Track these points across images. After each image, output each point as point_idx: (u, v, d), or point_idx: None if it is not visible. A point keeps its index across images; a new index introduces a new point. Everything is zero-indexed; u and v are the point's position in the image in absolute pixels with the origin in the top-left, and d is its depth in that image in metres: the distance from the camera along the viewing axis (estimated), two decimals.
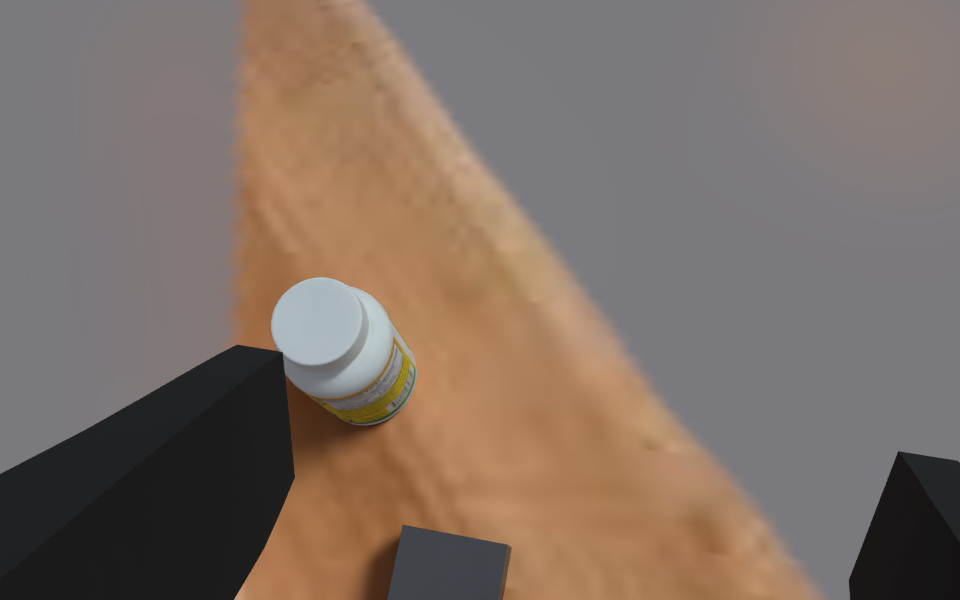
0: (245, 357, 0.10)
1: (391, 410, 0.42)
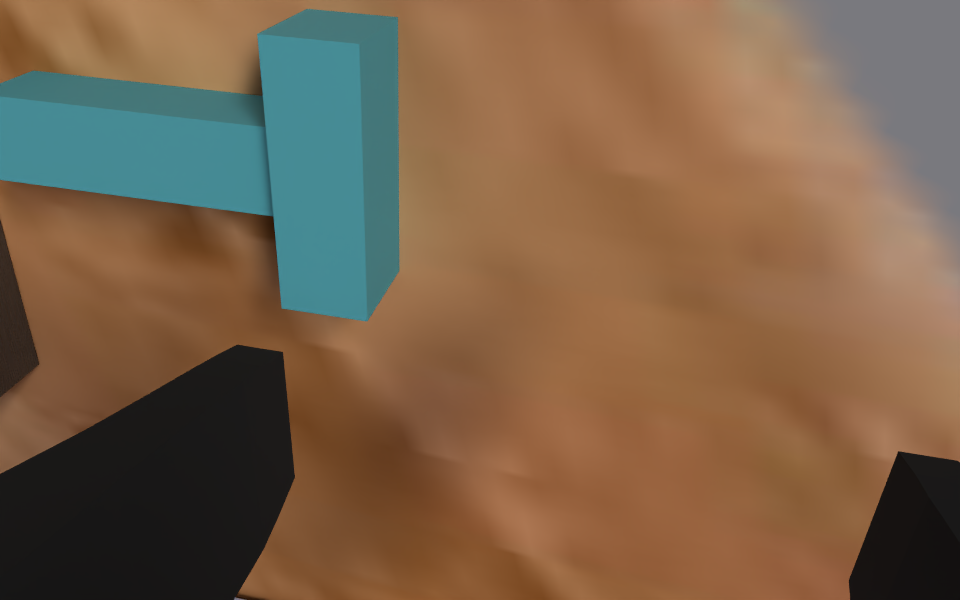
0: (245, 358, 0.10)
1: None
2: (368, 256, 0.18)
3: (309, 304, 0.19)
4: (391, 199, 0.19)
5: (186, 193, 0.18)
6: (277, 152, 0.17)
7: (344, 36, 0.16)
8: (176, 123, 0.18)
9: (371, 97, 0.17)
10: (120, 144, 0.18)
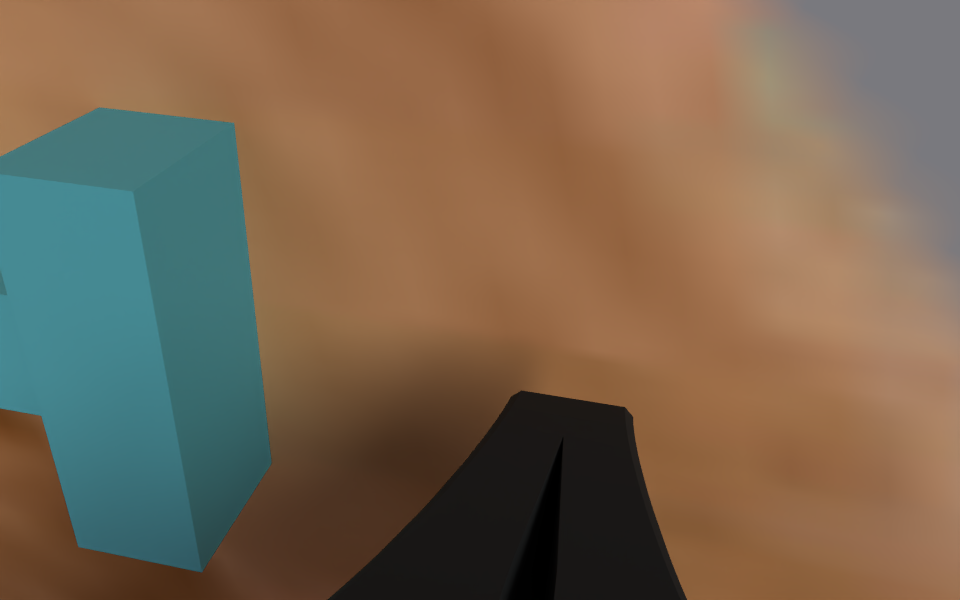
0: (543, 406, 0.09)
1: None
2: (195, 484, 0.12)
3: (116, 545, 0.12)
4: (243, 382, 0.13)
5: None
6: (35, 343, 0.11)
7: (117, 173, 0.10)
8: None
9: (175, 261, 0.10)
10: None
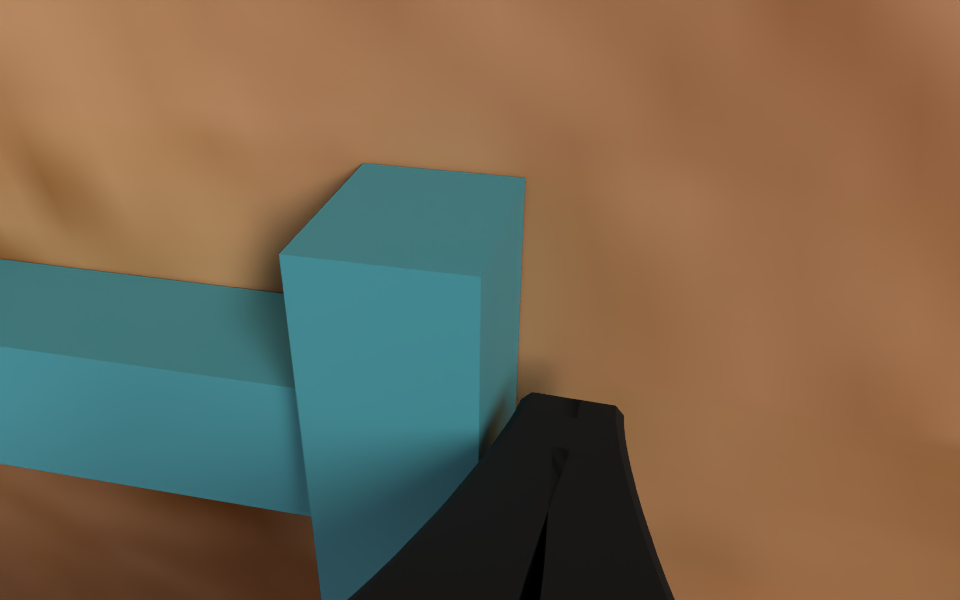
0: (555, 408, 0.09)
1: None
2: None
3: None
4: None
5: (163, 476, 0.11)
6: (319, 442, 0.09)
7: (446, 251, 0.08)
8: (140, 375, 0.10)
9: (491, 348, 0.09)
10: (48, 401, 0.11)
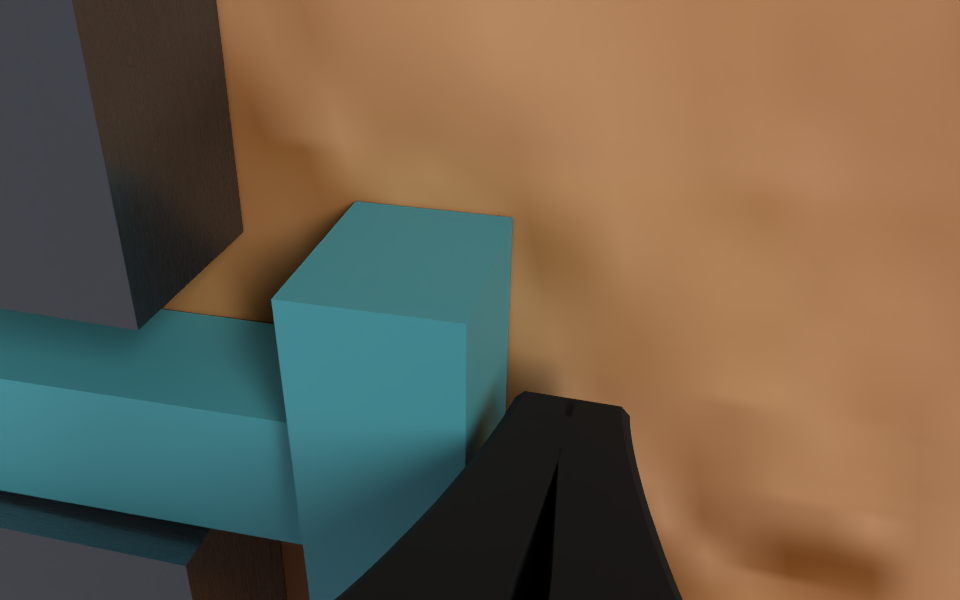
0: (547, 407, 0.09)
1: None
2: None
3: None
4: None
5: (159, 504, 0.11)
6: (311, 477, 0.10)
7: (433, 297, 0.08)
8: (136, 408, 0.10)
9: (478, 387, 0.09)
10: (48, 431, 0.11)
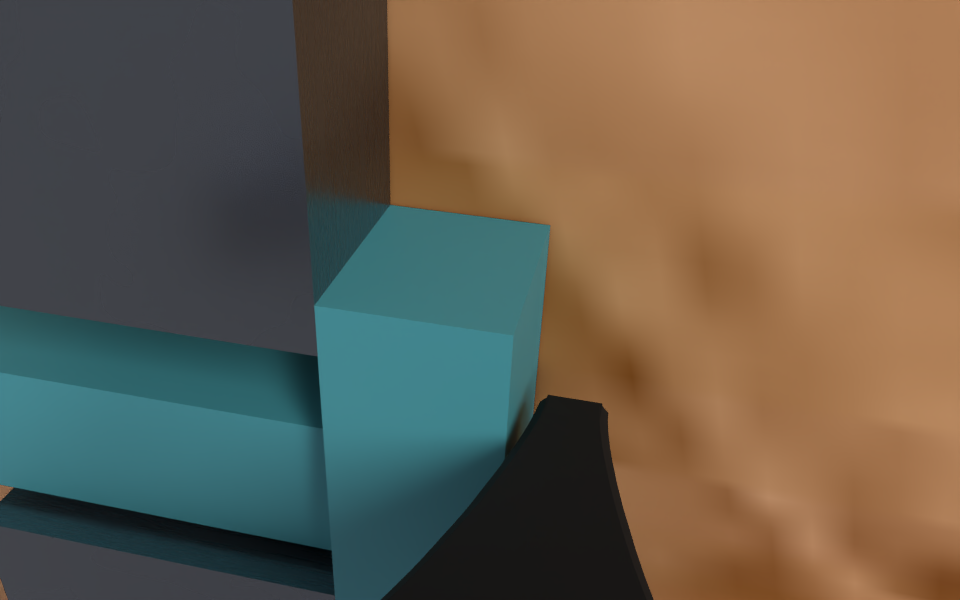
0: (574, 412, 0.09)
1: None
2: None
3: None
4: None
5: (183, 506, 0.11)
6: (344, 484, 0.09)
7: (477, 307, 0.08)
8: (165, 409, 0.10)
9: (517, 397, 0.09)
10: (71, 431, 0.11)
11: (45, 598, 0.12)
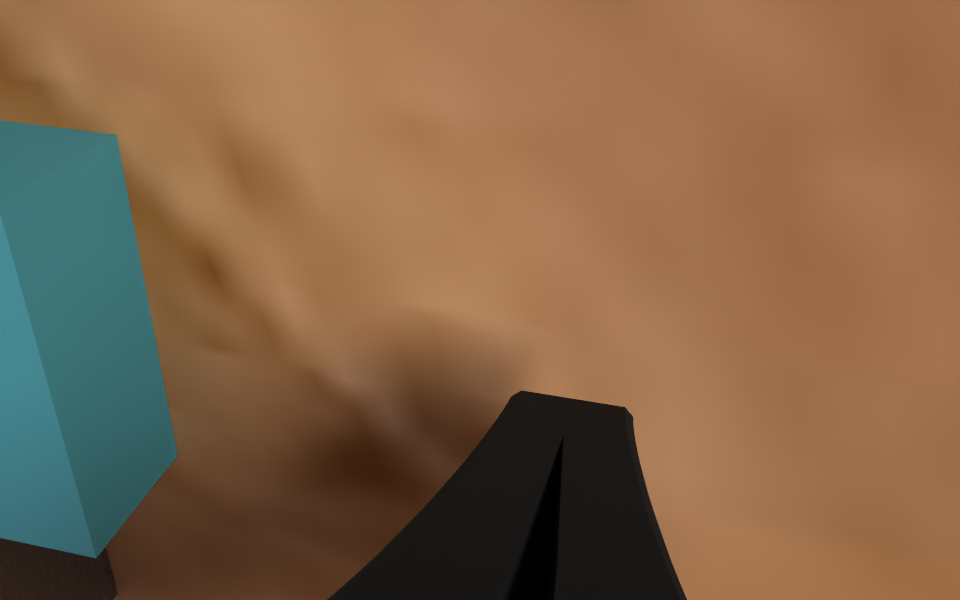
0: (543, 407, 0.09)
1: None
2: (84, 475, 0.12)
3: (16, 532, 0.13)
4: (138, 378, 0.13)
5: None
6: None
7: None
8: None
9: (51, 266, 0.11)
10: None
11: None
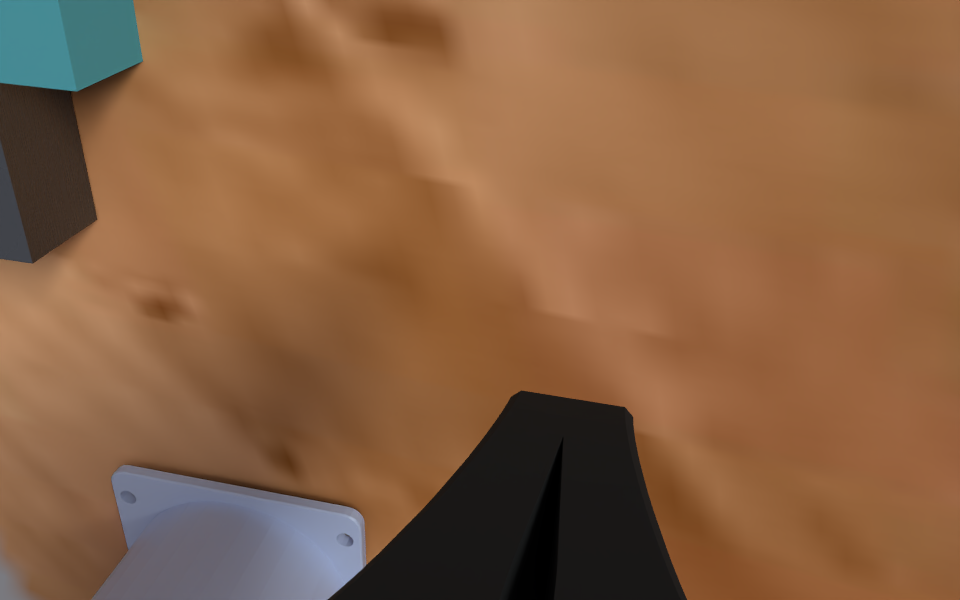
0: (543, 406, 0.09)
1: None
2: (67, 12, 0.16)
3: (16, 74, 0.17)
4: None
5: None
6: None
7: None
8: None
9: None
10: None
11: None
